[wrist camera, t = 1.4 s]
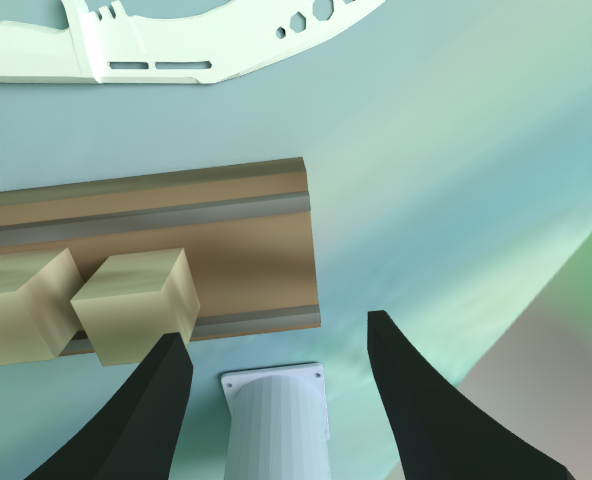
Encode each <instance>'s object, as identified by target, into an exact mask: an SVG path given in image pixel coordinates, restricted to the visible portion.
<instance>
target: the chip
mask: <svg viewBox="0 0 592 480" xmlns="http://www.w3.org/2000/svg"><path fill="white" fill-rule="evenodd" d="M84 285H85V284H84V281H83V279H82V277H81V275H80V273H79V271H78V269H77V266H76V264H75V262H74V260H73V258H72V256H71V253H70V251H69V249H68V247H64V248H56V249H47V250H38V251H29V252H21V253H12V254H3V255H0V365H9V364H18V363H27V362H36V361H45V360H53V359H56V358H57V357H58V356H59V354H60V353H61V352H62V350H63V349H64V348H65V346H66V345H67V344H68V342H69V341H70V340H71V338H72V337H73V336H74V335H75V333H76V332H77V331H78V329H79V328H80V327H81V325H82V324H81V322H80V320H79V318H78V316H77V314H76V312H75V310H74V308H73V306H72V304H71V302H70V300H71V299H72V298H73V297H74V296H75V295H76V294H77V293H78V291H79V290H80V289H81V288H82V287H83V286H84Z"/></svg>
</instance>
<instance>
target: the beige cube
mask: <svg viewBox="0 0 592 480" xmlns="http://www.w3.org/2000/svg"><path fill="white" fill-rule="evenodd" d="M70 302H71V304H72V306H73V308H74V310H75V312H76V314H77V316H78V318H79V320H80V322H81V324H82V326H83V328H84V330H85V332H86V334H87V336H88V338H89V340H90V342H91V344H92V346H93V348H94V350H95V352H96V354H97V356H98V358H99V360H100V362H101V364H102V366H112V365H121V364H130V363H139V362H142V361H143V359H144V358H145V357H146V355H147V354H148V353H149V352H150V350H151V349H152V348H153V347H154V345H155V344H156V343H157V341H158V340H159V339H160V338H161V337H162V335H163V334H165V333H174V332H180V334H181V337H182V339H183V342H184V344H185V347H186V349H187V346H188V343H189V340H190V337H191V334H192V331H193V328H194V325H195V322H196V319H197V315H198V312H199V309H200V303H199V300H198V296H197V293H196V289H195V286H194V283H193V279H192V276H191V272H190V269H189V265H188V262H187V258H186V255H185V251H184V248H175V249H166V250H157V251H148V252H140V253H131V254H122V255H113V256H110V257H109V258H108V259H107V260H106V261H105V262H104V263H103V264H102V266H101V267H100V268H99V269H98V270H97V271H96V272H95V273H94V275H93V276H92V277H91V278H90V279H89V280H88V281H87V282H86V284H85V285H84V286H83V287H82V288H81V289H80V290H79V291H78V293H77V294H76V295H75V296H74V297H73V298H72V299H71V300H70Z"/></svg>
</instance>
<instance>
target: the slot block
mask: <svg viewBox="0 0 592 480" xmlns="http://www.w3.org/2000/svg"><path fill="white" fill-rule="evenodd" d="M310 211H311V208H310V197H309V192H308V184H307V173H306V168H305V165H304V161H303V157H298V158H289V159H281V160H272V161H263V162H255V163H246V164H237V165H229V166H220V167H212V168H203V169H194V170H186V171H177V172H168V173H160V174H151V175H143V176H134V177H125V178H117V179H108V180H99V181H91V182H82V183H73V184H65V185H56V186H48V187H39V188H30V189H22V190H13V191H4V192H0V255H3V254H12V253H21V252H29V251H38V250H47V249H56V248H64V247H68V249H69V251H70V253H71V256H72V258H73V260H74V262H75V264H76V266H77V269H78V271H79V273H80V275H81V277H82V279H83V281H84V284H86V282H87V281H88V280H89V279H90V278H91V277H92V276H93V275H94V273H95V272H96V271H97V270H98V269H99V268H100V267H101V266H102V264H103V263H104V262H105V261H106V260H107V259H108V258H109V257H110V256H113V255H122V254H131V253H140V252H148V251H157V250H166V249H175V248H184V251H185V255H186V258H187V262H188V265H189V269H190V272H191V276H192V279H193V283H194V286H195V289H196V293H197V296H198V300H199V303H200V309H199V312H198V315H197V319H196V322H195V325H194V328H193V331H192V334H191V337H190V340H189V342H191V341H200V340H209V339H218V338H227V337H236V336H245V335H253V334H262V333H271V332H280V331H289V330H298V329H307V328H316V327H321V325H320V323H321V318H320V309H319V303H318V292H317V281H316V271H315V260H314V249H313V238H312V227H311V217H310ZM94 352H95V350H94V348H93V346H92V344H91V342H90V340H89V338H88V336H87V334H86V332H85V330H84V328H83V326H82V325H81V327H80V328H79V329H78V331H77V332H76V333H75V335H74V336H73V337H72V338H71V340H70V341H69V342H68V344H67V345H66V346H65V348H64V349H63V350H62V352H61V353H60V354H59V356H67V355H76V354H85V353H94Z"/></svg>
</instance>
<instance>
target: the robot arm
mask: <svg viewBox="0 0 592 480" xmlns="http://www.w3.org/2000/svg"><path fill="white" fill-rule="evenodd" d="M367 350H368V354H369V359H370V363H371V368H372V372H373V376H374V379H375V382H376V385H377V388H378V390H379V393H380V396H381V399H382V402H383V405H384V408H385V411H386V414H387V416H388V419H389V422H390V425H391V428H392V431H393V434H394V437H395V440H396V444H397V447H398V451H399V455H400V459H401V463H402V467H403V471H404V475H405V479H406V480H575V478H574V477H573V476H572V475H571V473H570V472H569V471H568V470H567V468H566V467H565V466H563V465H562V464H560V463H559V462H557V461H555V460H554V459H552V458H550V457H549V456H547V455H546V454H544V453H542V452H541V451H539V450H537V449H536V448H534V447H533V446H531V445H529V444H528V443H526V442H524V441H523V440H522V439H521V438H519V437H518V436H516V435H515V434H513V433H512V432H510V431H509V430H507V429H506V428H504V427H503V426H502V425H501V424H499V423H498V422H497V421H495V420H494V419H493V418H491V417H490V416H489V415H487V414H486V413H485V412H483V411H482V410H481V409H479V408H478V407H477V406H475V405H474V404H473V403H472V402H471V401H470V400H468V399H467V398H466V397H465V396H464V395H462V394H461V393H460V392H459V391H458V390H457V389H456V388H455V387H453V386H452V385H451V384H450V383H449V382H448V381H447V380H446V379H445V378H444V377H443V376H442V375H441V374H439V373H438V372H437V371H436V370H435V369H434V368H433V367H432V366H431V364H430V363H429V362H428V361H427V360H426V359H425V358H424V357H423V356H422V355H421V354H420V353H419V352H418V351H417V349H416V348H415V347H414V346H413V345H412V344H411V343H410V342H409V340H408V339H407V338H406V337H405V336H404V334H403V333H402V332H401V331H400V329H399V328H398V327H397V326H396V324H395V323H394V322H393V320H392V319H391V318H390V316H389V315H388V314H387V312H386V311H384V310H379V311H370V312H368V331H367ZM316 373H319V374H316ZM192 375H193V365H192V362H191V360H190V357H189V355H188V352H187V350H186V347H185V344H184V342H183V339H182V337H181V334H180V332H174V333H165V334H163V335H162V337H161V338H160V339H159V340H158V341H157V343H156V344H155V345H154V347H153V348H152V349H151V350H150V352H149V353H148V354H147V355H146V357H145V358H144V359H143V361H142V362H141V363H140V364H139V366H138V367H137V368H136V369H135V371H134V372H133V373H132V374H131V375H130V377H129V378H128V379H127V380H126V382H125V383H124V384H123V385H122V386H121V387H120V389H119V390H118V391H117V392H116V393H115V394H114V395H113V396H112V398H111V399H110V400H109V401H108V402H107V403H106V404H105V406H104V407H103V408H102V409H101V410H100V411H99V412H98V413H97V414H96V415H95V416H94V417H93V418H92V419H91V420H90V421H89V422H88V423H87V424H86V425H85V426H84V427H83V428H82V429H81V430H80V431H79V432H78V433H77V434H76V435H75V436H74V437H73V438H72V439H70V440H69V441H68V442H67V443H66V444H65V445H64V446H63V447H61V448H60V449H59V450H58V451H57V452H56V453H55V454H54V455H52V456H51V457H50V458H49V459H48V460H47V461H46V462H45V463H43V464H42V465H41V466H40V467H39V468H37V469H36V470H35V471H34V472H32V473H31V474H30V475H29V476H28V477H26V478H25V479H24V480H168V478H169V472H170V467H171V463H172V458H173V454H174V451H175V447H176V443H177V440H178V436H179V432H180V429H181V425H182V421H183V418H184V414H185V410H186V406H187V403H188V399H189V395H190V389H191V382H192ZM221 383H222V386H223V390H224V393H225V397H226V400H227V403H228V407H229V410H230V414H231V417H232V421H231V429H230V436H229V444H228V451H227V459H226V467H225V474H224V480H331V473H330V465H329V457H328V449H327V441H328V440H329V439H330V436H329V426H328V415H327V405H326V394H325V384H324V373H323V366H322V365H321V364H320V363H311V364H302V365H293V366H284V367H275V368H267V369H258V370H249V371H240V372H231V373H225V374H223V375H222V377H221ZM228 383H230V384H228Z"/></svg>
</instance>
